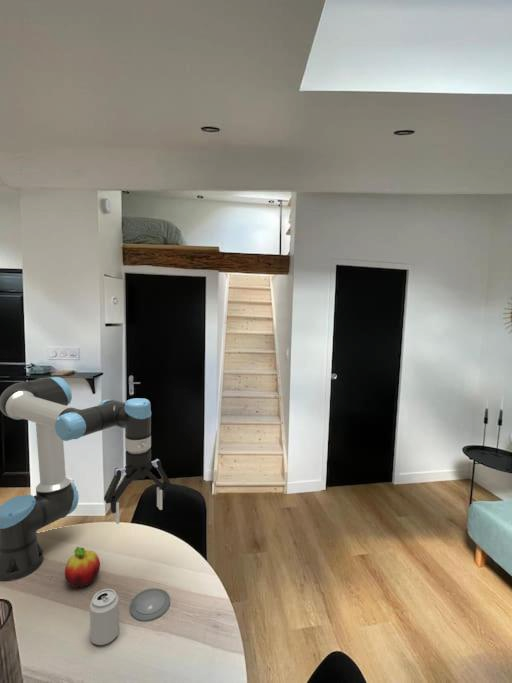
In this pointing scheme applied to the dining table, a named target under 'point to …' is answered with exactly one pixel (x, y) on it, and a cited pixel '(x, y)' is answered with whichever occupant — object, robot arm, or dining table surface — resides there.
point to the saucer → (149, 604)
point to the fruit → (82, 567)
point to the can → (104, 617)
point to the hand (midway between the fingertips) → (138, 514)
